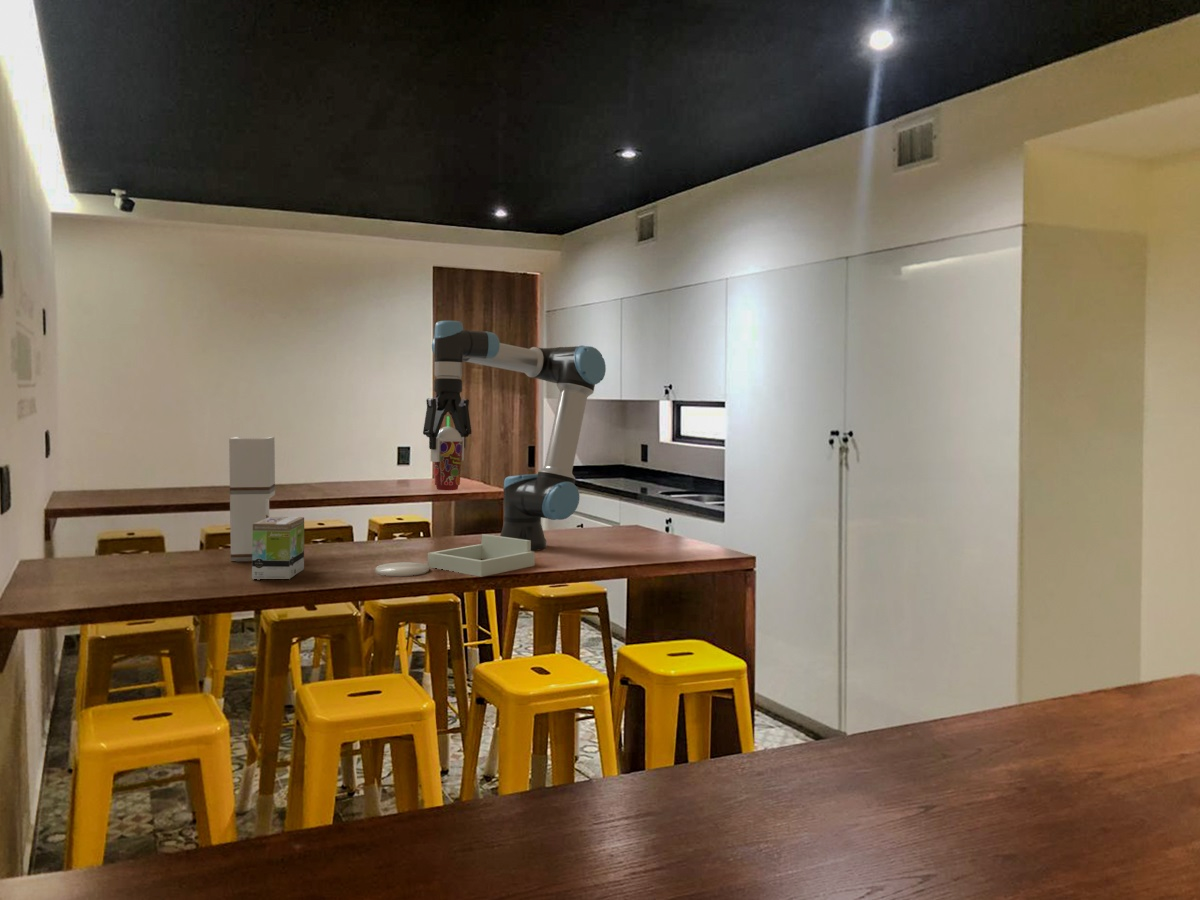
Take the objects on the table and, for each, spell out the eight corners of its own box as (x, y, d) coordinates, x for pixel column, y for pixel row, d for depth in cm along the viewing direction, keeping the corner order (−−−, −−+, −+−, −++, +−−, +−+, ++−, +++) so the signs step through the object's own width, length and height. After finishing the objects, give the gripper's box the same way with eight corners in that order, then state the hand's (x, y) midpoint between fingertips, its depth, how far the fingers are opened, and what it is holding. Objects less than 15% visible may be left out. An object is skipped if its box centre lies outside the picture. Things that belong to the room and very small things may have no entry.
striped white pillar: (270, 560, 265) (268, 438, 263) (230, 561, 263) (229, 438, 261) (275, 553, 276) (274, 436, 274) (237, 554, 274) (236, 436, 272)
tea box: (291, 580, 237) (290, 523, 237) (251, 580, 237) (250, 523, 236) (305, 569, 252) (304, 515, 252) (267, 569, 252) (266, 515, 251)
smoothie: (456, 491, 249) (457, 416, 248) (427, 490, 250) (427, 416, 250) (466, 488, 257) (467, 416, 256) (438, 487, 259) (439, 416, 258)
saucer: (405, 564, 260) (405, 560, 260) (439, 570, 252) (439, 566, 252) (365, 571, 249) (365, 567, 249) (399, 578, 241) (399, 573, 241)
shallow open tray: (481, 557, 274) (481, 533, 273) (534, 565, 261) (534, 541, 260) (427, 567, 257) (427, 542, 257) (481, 576, 244) (481, 550, 244)
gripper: (466, 379, 263) (465, 458, 264) (409, 376, 246) (408, 461, 247) (485, 379, 259) (484, 460, 260) (428, 376, 242) (427, 463, 243)
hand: (447, 460), depth 253 cm, fingers closed on smoothie, 8 cm apart
